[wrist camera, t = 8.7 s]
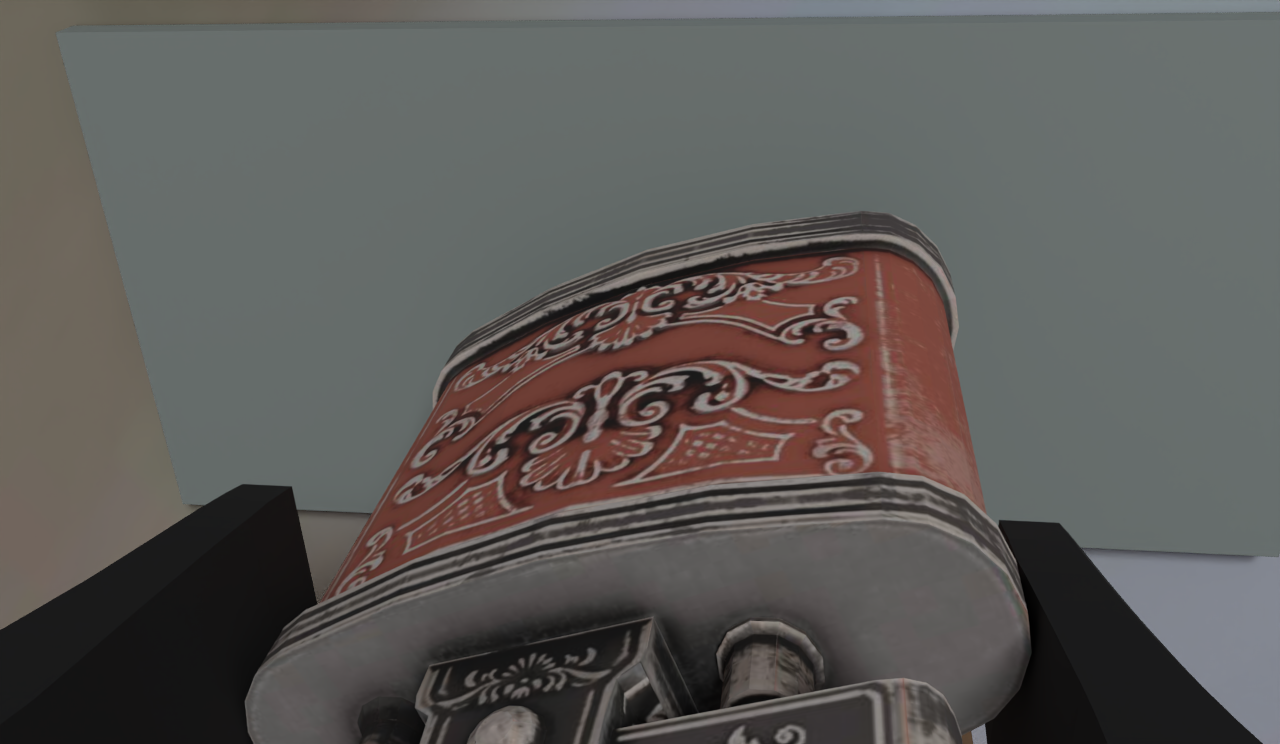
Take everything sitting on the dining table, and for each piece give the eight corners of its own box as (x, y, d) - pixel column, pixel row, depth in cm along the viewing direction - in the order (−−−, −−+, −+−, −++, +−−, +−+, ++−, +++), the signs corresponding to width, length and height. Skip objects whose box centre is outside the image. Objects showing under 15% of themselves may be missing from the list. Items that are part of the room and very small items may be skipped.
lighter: (499, 496, 20) (238, 1096, 11) (410, 324, 18) (34, 854, 10) (979, 372, 17) (1131, 1010, 9) (917, 164, 16) (1024, 673, 7)
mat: (1409, 10, 16) (1426, 18, 16) (1268, 539, 20) (1278, 557, 20) (73, 25, 19) (55, 32, 18) (195, 489, 23) (182, 504, 23)
